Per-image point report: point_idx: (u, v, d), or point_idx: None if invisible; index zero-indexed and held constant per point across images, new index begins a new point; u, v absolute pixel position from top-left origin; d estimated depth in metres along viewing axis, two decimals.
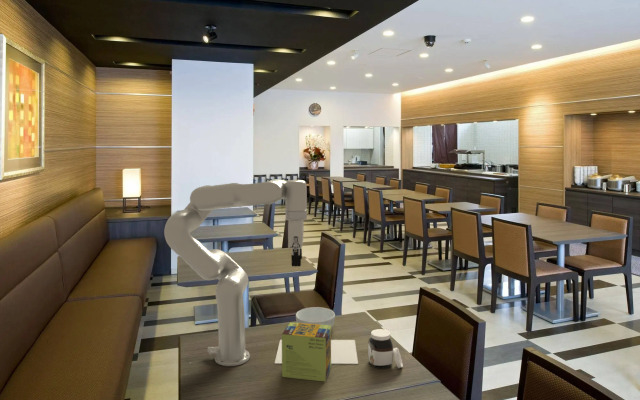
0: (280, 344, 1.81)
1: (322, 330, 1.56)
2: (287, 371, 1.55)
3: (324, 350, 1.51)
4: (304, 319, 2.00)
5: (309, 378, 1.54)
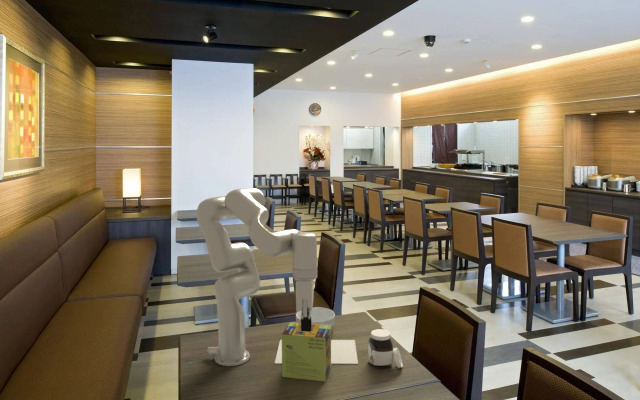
0: (280, 344, 1.81)
1: (322, 330, 1.56)
2: (287, 371, 1.55)
3: (324, 350, 1.51)
4: None
5: (309, 378, 1.54)
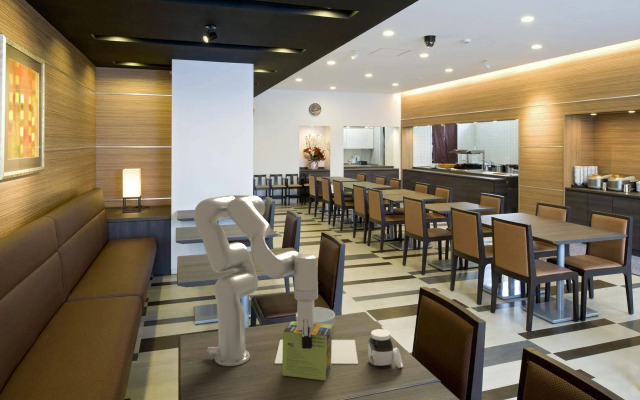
0: (280, 344, 1.81)
1: (323, 329, 1.57)
2: (287, 369, 1.55)
3: (325, 348, 1.52)
4: None
5: (309, 377, 1.54)
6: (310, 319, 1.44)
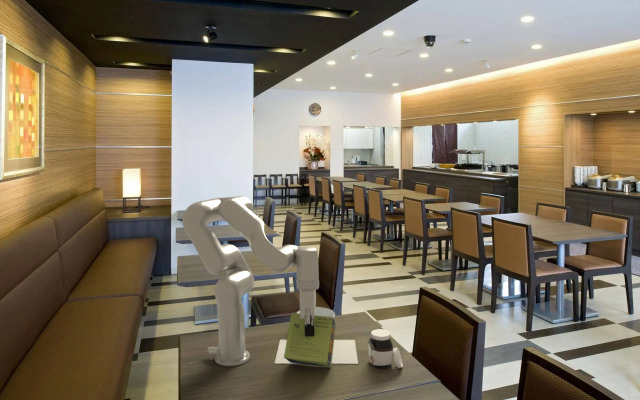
0: (280, 344, 1.81)
1: None
2: (290, 351, 1.57)
3: (330, 329, 1.59)
4: None
5: (311, 359, 1.55)
6: (312, 308, 1.52)
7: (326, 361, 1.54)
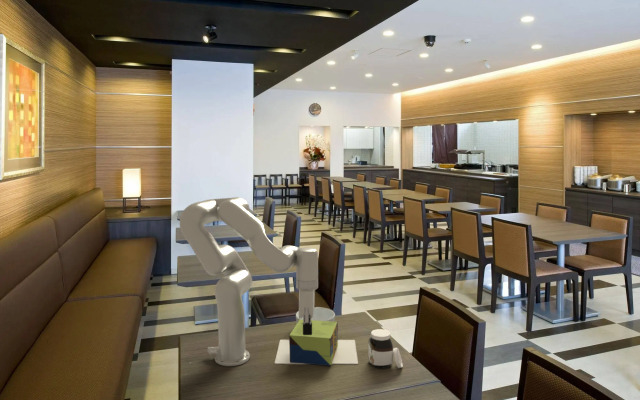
0: (280, 344, 1.81)
1: None
2: (296, 333, 1.66)
3: (334, 326, 1.72)
4: None
5: (315, 336, 1.63)
6: (311, 307, 1.55)
7: (329, 337, 1.62)
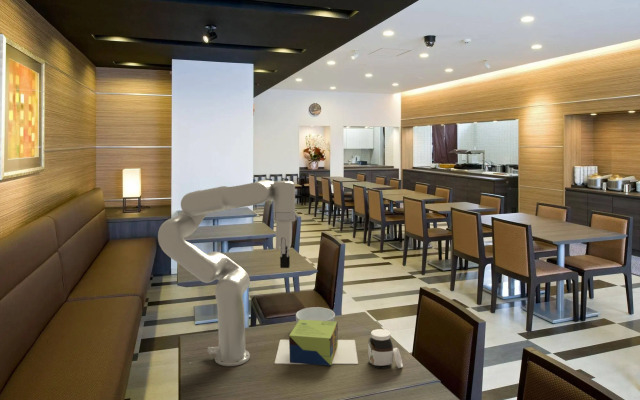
0: (280, 344, 1.81)
1: None
2: (296, 333, 1.66)
3: (334, 325, 1.72)
4: (304, 319, 2.00)
5: (315, 336, 1.63)
6: (287, 238, 1.57)
7: (329, 337, 1.62)
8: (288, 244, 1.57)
